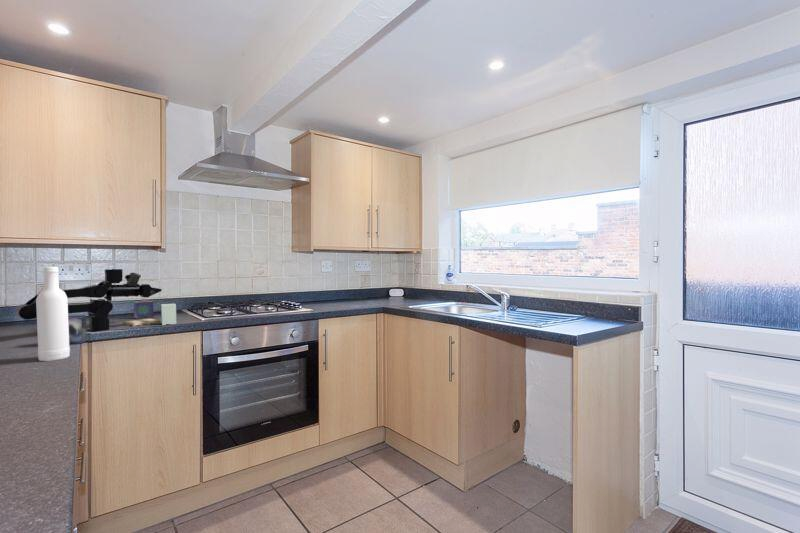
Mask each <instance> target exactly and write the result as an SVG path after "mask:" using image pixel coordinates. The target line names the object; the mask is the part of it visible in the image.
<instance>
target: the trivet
mask: <svg viewBox="0 0 800 533" xmlns="http://www.w3.org/2000/svg"><path fill="white" fill-rule="evenodd" d="M158 322H160V323H161V320H159V319H154V318H143V319H134V320H127V321H122V325H124V324H127V325H126V326H129V325H133V326H132V327H135V326H134V325H140V326H143V325H142V324H147V325H151V324H150V323H155V324H159V323H158Z"/></svg>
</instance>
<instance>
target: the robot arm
mask: <svg viewBox="0 0 800 533" xmlns="http://www.w3.org/2000/svg"><path fill="white" fill-rule="evenodd" d="M123 271H124V269H123V268H111V269H107V268H106V269H104V280H102V281H101V282H99V283H97V284H93V285H88V286H84V287H80V288H70V289H62V290H63V291H64V292H65V294H66V296H67V298H68V299H72V298H89V302H87V303H73V304H68V314H76V313H77V314H78V313H87V315H88V316H89V317H88V323H89V324H88V325H89V326H88V327H89V328H88V329H87V330H88V331H89V330H90V331H89V332H99V331H98V330H101V331H106V330H107V329H108V330H110V329H111V328H110V318H109V317H108V316H109V314H110V313H111V311H113V308H114V305H113V303H112V298H116V297H117V298H119V297H121V298H122V297H124V298H125V297H127V298H128V297H139V296H140V297H141V298H150V297H151V296H154V295H157V293H160V292H162V288H159V287H152V286H151V284H147V283H142V284H139V282H140V279H141V277H142V275H141V274H138V273H136V272H130V273H129V274H126V275H125V276H124V279H126V283H122V282H123V275H124V274H123ZM120 283H122V284H120ZM41 291H42V290H40V291H39V292H38V293H37V294H36V295H35V296H33V297H32V298H31V299H29V300H27V302H25V303H24V304H21V305H19V306H17V307H16V309H15V311H14V312H15V315H16V316H17V317H18V318H19V319H22V320H32V319H37V308H36V299H37V296H38V294H39V293H40V292H41ZM90 298H91V299H90ZM92 298H97V299H92Z"/></svg>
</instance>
